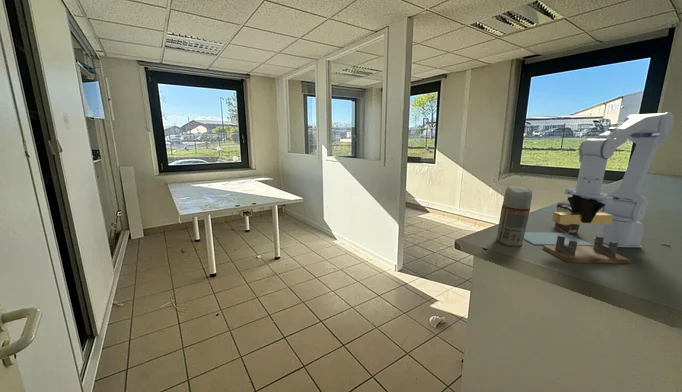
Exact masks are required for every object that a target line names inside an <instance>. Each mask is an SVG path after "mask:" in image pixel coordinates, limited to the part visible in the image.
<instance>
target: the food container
mask: <svg viewBox="0 0 682 392" xmlns="http://www.w3.org/2000/svg"><path fill="white" fill-rule="evenodd" d="M556 212H572V209H571V205H570V203H564V202H558V203H557V204H556ZM580 225H581V224H558V223H556V222H554V228H557V229H559V231H560V230H561V231H562V232H563V233H567V234H569V235H577V234H578V232H579V229H580Z"/></svg>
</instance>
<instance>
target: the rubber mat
mask: <svg viewBox="0 0 682 392" xmlns="http://www.w3.org/2000/svg"><path fill="white" fill-rule="evenodd" d="M558 235H559V236H565V241H564V243H566V244H568V245H569V241H576V242H577V246H594V244H592V243H589V242H588V241H585V240H584V239H581V238H578V237H575V236H574V235H572V234H567V233H566V232H536V231H535V232H529V231H528V232H526V231H525V235H524V239H523V241H526V242H528V243H529V244H531V245H533V246H544V245H556V242H557V237H558Z"/></svg>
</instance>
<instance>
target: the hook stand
mask: <svg viewBox="0 0 682 392" xmlns="http://www.w3.org/2000/svg"><path fill="white" fill-rule="evenodd" d="M595 237H596V238H595V239H594V244H593V246H577V242H576V241H569V245H568V244H566V243H564V241H565V236H559V235H558V237H557V242H556V245H542V249H543V250H545V251H547V252H548V253H550V254H552V255H553V256H555V257H558V259H561V260H562V261H565V262H566V263H582V264H583V263H590V264H591V263H593V264H596V263H597V264H630V262H631V259H630V258H627V257H625V256H622V255H620V254H618V253H617V251H618V248H619V247H618V243H617V242H610V243H609V245H608V244H606V243H603V240H604V237H602V235H595Z"/></svg>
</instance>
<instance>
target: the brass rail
mask: <svg viewBox="0 0 682 392" xmlns="http://www.w3.org/2000/svg"><path fill="white" fill-rule="evenodd" d="M552 213H553V214H552V219H551V221H552V222H554V223H555V222H556V223H558V224H580V225H604V224H610V225H611V223H612V219H613V215H611V214H607V213H602V212H597V214H596V215H595V217H594V218H593V220H592V222H591V223H583V222H582V216H583V212H557V211H554V212H552Z"/></svg>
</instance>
